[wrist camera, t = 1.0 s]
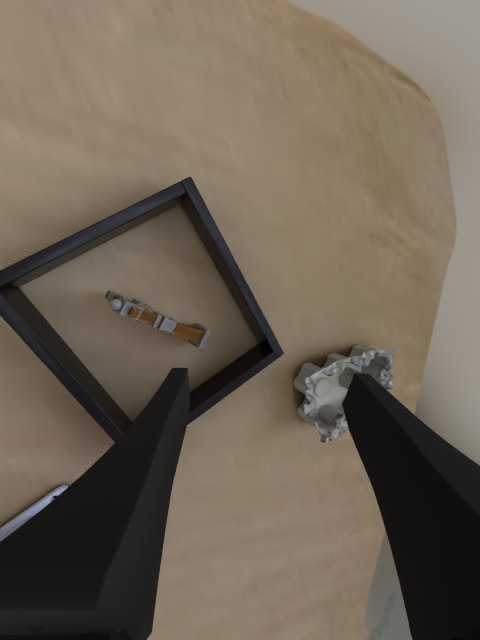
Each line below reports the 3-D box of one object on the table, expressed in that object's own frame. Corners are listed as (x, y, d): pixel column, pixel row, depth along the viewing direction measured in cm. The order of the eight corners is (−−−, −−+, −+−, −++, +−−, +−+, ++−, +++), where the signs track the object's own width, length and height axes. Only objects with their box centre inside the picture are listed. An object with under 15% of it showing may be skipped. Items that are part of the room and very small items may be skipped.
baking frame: (135, 441, 23) (134, 464, 20) (-3, 283, 18) (-28, 284, 15) (268, 345, 26) (284, 353, 23) (183, 189, 21) (190, 175, 18)
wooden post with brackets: (100, 277, 19) (122, 292, 16) (184, 315, 25) (212, 331, 22) (88, 300, 19) (108, 319, 16) (175, 332, 25) (202, 351, 22)
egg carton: (295, 425, 29) (319, 448, 25) (289, 360, 27) (313, 374, 23) (371, 397, 32) (402, 414, 28) (369, 338, 30) (402, 347, 27)
